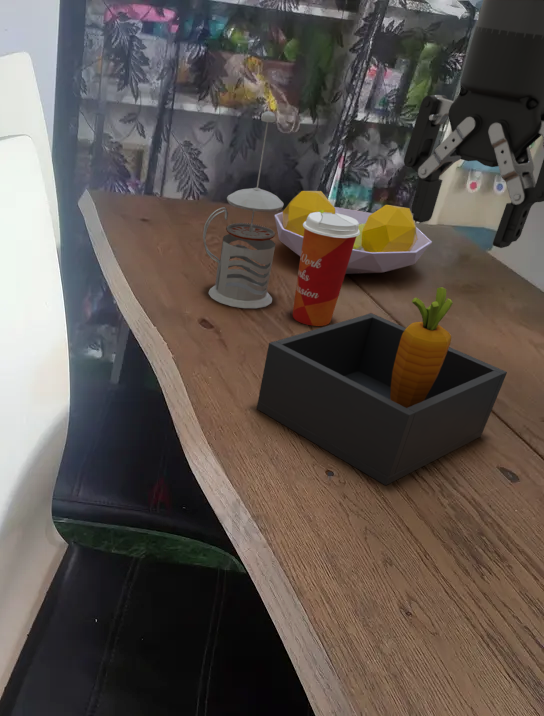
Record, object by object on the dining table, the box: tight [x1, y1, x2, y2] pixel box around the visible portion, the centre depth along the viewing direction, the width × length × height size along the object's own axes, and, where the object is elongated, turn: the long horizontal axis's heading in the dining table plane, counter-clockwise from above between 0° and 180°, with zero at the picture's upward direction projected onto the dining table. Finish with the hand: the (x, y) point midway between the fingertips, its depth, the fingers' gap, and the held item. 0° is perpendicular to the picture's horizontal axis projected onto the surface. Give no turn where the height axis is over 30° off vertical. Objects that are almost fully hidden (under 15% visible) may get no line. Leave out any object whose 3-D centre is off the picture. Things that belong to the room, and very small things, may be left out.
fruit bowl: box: [274, 190, 433, 275], centre depth 126 cm, size 28×27×11 cm
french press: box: [202, 110, 284, 309], centre depth 104 cm, size 10×12×25 cm
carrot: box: [390, 286, 454, 408], centre depth 77 cm, size 5×5×15 cm
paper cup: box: [292, 212, 360, 327], centre depth 103 cm, size 8×8×14 cm
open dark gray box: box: [256, 312, 508, 486], centre depth 81 cm, size 18×18×8 cm
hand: (459, 232), depth 69 cm, fingers open, 8 cm apart
